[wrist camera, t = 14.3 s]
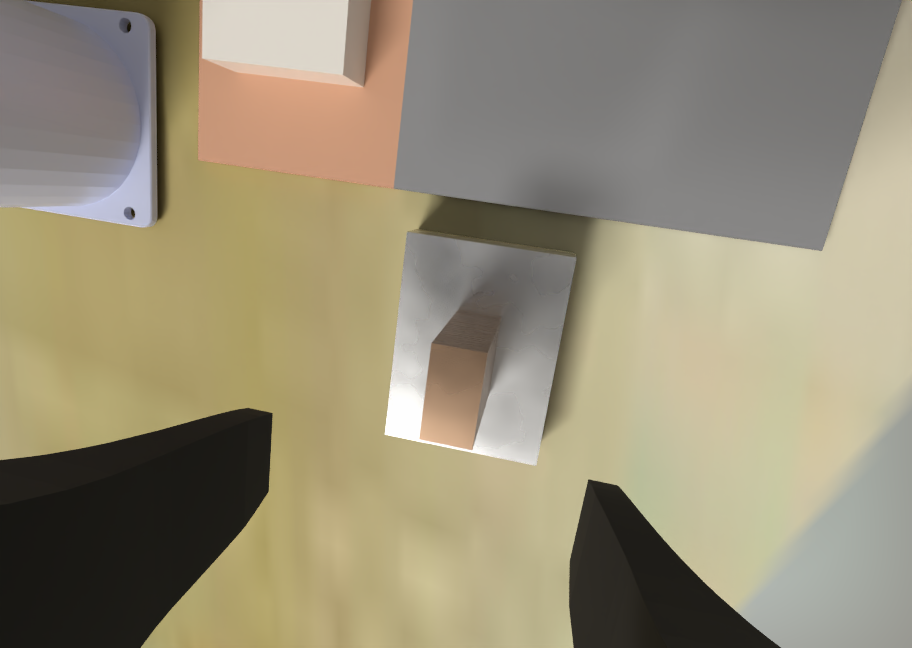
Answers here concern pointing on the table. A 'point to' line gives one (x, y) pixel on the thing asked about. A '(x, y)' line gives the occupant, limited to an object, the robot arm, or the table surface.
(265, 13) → the block
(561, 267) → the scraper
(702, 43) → the mat
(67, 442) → the table surface
